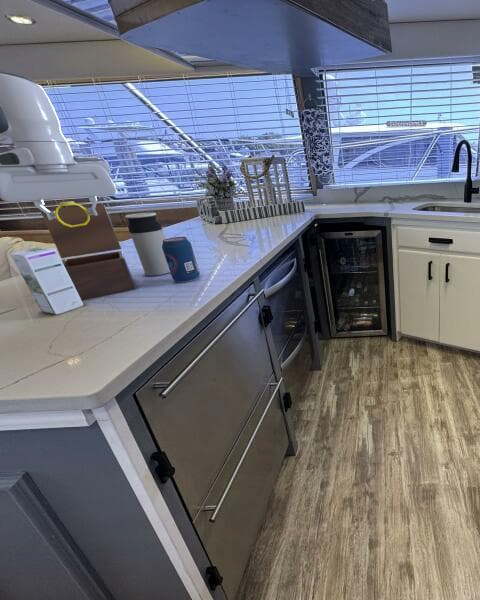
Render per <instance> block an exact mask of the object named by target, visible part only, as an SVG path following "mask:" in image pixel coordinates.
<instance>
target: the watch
mask: <svg viewBox="0 0 480 600" xmlns="http://www.w3.org/2000/svg"><path fill="white" fill-rule="evenodd" d="M58 204H59V205H58V206H57V207H56V208H55V209H56V211H55V215H56V217H57V220H58V221H59V222H61V223H62V224H63V225H65V226H68V227H76V226H82V225H87V223H88V222H89V220H90V215H89V212H88V211H87V209H86V208H84V207H85V206H83V205H81V204H79V203H76V202H75V201H74V200H71V201H62V202H58ZM63 206H77V207H81V208H82V209H84V210H85V212H86V213H87V215H88V220H87V221H86V222H85V223H83V224H78V225H69V224H66V223H64V222H63V221H62V220H61V219H60V218H59V216H58V210H59V209H61V208H62V207H63Z"/></svg>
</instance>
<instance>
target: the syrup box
mask: <svg viewBox="0 0 480 600" xmlns="http://www.w3.org/2000/svg"><path fill="white" fill-rule="evenodd" d="M9 255H10V257H11V259H12V260H13V262H14V264H15V267H16V268H17V270H18V271H19V274H20V276H21V277H22V279H23V280H24V282H25V284H26V286H27V288H28V289H29V291H30V293H31V296H33V299H34V300H35V302H36V304H37V306H38V307H39V309H40V311H41V312H42V313H46V314H52V315H60V314H63V313H66V312H70V311H72V310H75V309H78V308H81V307H84V303H83V300H81V298H80V296H79V294H78V292H77V290H76V288H75V286H74V284H73V282H72V280H71V278H70V276H69V274H68V272H67V270H66V268H65V266H64V264H63V263H62V258H61V256H60V254H59V252H58V249H57V248H54V247H53V248H51V247H35V248H29V249H28V248H27V249H23V250H19V251H16V252H12V253H9Z"/></svg>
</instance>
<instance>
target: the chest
mask: <svg viewBox="0 0 480 600" xmlns="http://www.w3.org/2000/svg"><path fill="white" fill-rule="evenodd" d="M61 261H62V263H63V264H64V266H65V268H66V270H67V272H68V274H69V276H70V278H71V280H72V282H73V284H74V286H75V288H76V290H77V292H78V294H79V296H80V298H81V301H85V300H90V299H95V298H100V297H103V296H104V297H105V296H110V295H114V294H119V293H124V292H127V291H132V290H136V284H135V280H134V277H133V275H132V272H131V270H130V267H129V265H128V262H127V259H126V257H125V255H124V252H123V250H116V251H109V252H103V253H96V254H90V255H83V256H77V257H70V258H64V259H61Z"/></svg>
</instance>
